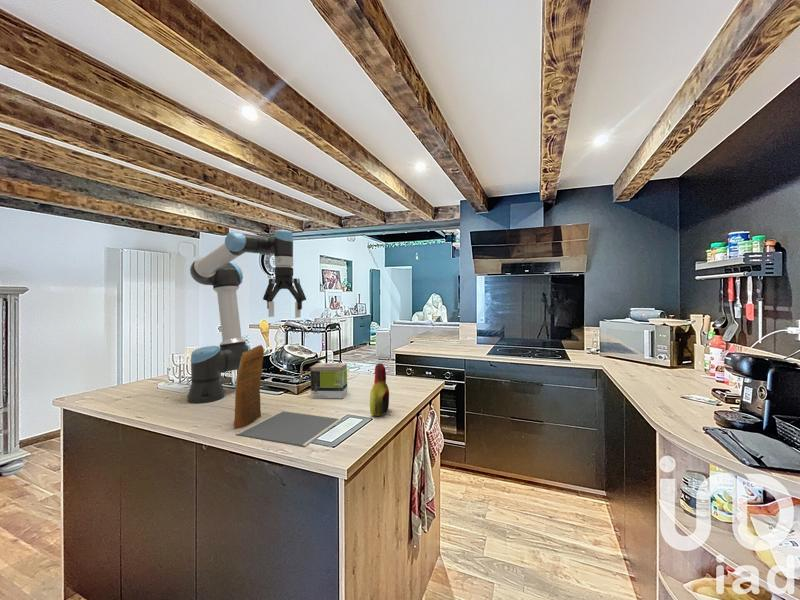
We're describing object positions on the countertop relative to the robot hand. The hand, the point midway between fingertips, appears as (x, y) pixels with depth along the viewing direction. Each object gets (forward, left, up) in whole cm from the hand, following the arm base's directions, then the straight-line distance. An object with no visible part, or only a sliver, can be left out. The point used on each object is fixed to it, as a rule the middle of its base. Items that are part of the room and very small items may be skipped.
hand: (284, 317), depth 149 cm
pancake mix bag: (-2, -19, -39) cm, 43 cm away
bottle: (+42, +5, -39) cm, 57 cm away
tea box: (+10, +19, -39) cm, 44 cm away
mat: (+17, -19, -38) cm, 46 cm away
